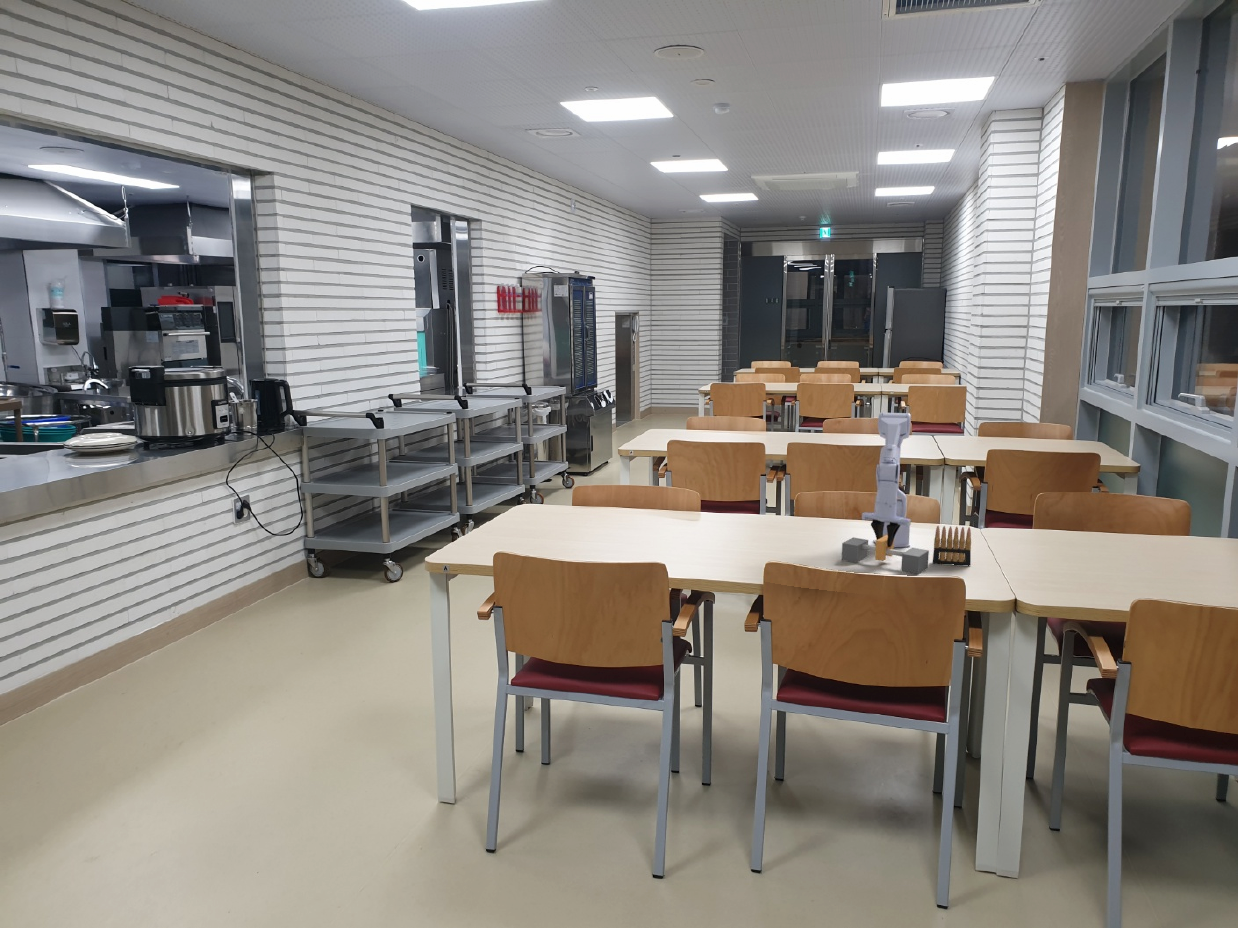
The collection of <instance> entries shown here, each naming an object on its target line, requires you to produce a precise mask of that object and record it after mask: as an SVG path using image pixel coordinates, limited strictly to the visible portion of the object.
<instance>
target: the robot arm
mask: <svg viewBox="0 0 1238 928" xmlns="http://www.w3.org/2000/svg"><path fill="white" fill-rule="evenodd" d="M877 418H878V419H877V421H878V422H877V429H878V430H877V431H878V434H879V437H881V438H882V439H885V441H884V442H885V445H883V446H882V447H881V449H880V452H879V453H880V455H879V462H878V464H877V465H876V469H875V471H876V472H875V479H876V489H877V490H876V491H877V493H876V494H875V500H874V512H867V511H865V512H863V513H861V520H862V521H866V520H868V521H872V522H871V523H870V527H871V528H872V530H873V533H874V535H875V538H876V539H873V541H872V542H873V543H875V544H876V540H878V539H880V538H882V537H884V536H885V535H888V539H887V547H891V546H892V544H893V540H894V548H905V547H906V548H908V547H911V545H910V533H911V531H910V530H911V529H910V528H911V524H912V523H911V522H912V521H911V519H910V518H906V517H907V510H908V509H907V507H908V506H907V504H908V502H907V501H908V500H907V499H908V498H907V495H906V494H905V492H904V491H902V490H900V488H899V481H900V473H901V472H900V471H901V466H900V465H901V450H902V449H901V447H902V443H903V442H904V440H906V439H908V438H909V437H910V435H911V423H912V422H911V420H912V415H911V414H910V412H906V413H904V412H903V413H902V412H883V411H881V412H880V413H879V414H878V417H877Z"/></svg>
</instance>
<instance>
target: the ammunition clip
mask: <svg viewBox="0 0 1238 928" xmlns="http://www.w3.org/2000/svg"><path fill="white" fill-rule="evenodd" d="M940 530H941V534H940ZM971 530H972V529H971V527H970V526H968V528H967V531H965V527H964V526H962V527H961V529H960V535H959V528H958V526H956V527H955V528H954V533H953V528H952V526H951V525H950V526H949V528H948V533H947V528H946V526H945V525H943V527H942V529H940V526H939V525H937V526H936V528H935V535H934V538H933V539H934V540H933V541H934V542H933V555H932V564H933V565H942V564H954V565H953V566H957V565H968V566H967V567H970V566H969V565H971V557H972V556H971V554H972V553H971V551H972V532H971ZM965 532H966V533H965ZM940 535H941V536H940ZM965 535H966V537H965Z"/></svg>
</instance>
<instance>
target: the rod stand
mask: <svg viewBox="0 0 1238 928" xmlns="http://www.w3.org/2000/svg"><path fill="white" fill-rule="evenodd" d="M841 544H842V545H841V561H844V560H845V561H844V562H850V563H855V564H856V563H859V562H862V561H863V560H865V559H866V558H868V557H869V556H868V555H869V551H870V552H874V553H875V548H876V545H869V539H864V538H857V537H851V538H850V539H847V540H846V541H844V542H841ZM929 552H930V551H929V550H928V549H923V548H916V547H911V548H909V549H908V550H906V551H902V550H897V549H894V550H892V549H887V548H886V554H891V555H893V556H898V557H901V570H900V571H901V573H908V574H912V575H913V574H914V575H917V574H918V575H920V574H921V573H922V572H924V571H925V570H927V569H928V568H929V555H930V553H929Z"/></svg>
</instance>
